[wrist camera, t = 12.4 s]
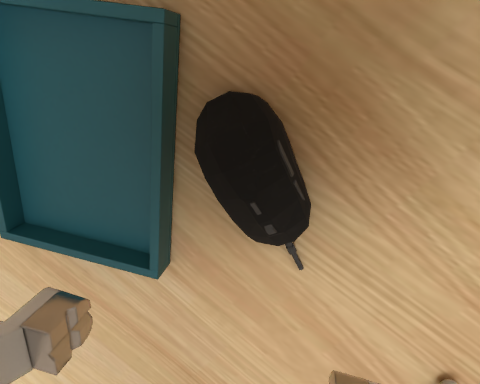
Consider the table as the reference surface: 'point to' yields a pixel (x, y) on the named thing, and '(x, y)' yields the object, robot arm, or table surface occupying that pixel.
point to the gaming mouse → (253, 169)
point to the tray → (89, 129)
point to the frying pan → (448, 381)
